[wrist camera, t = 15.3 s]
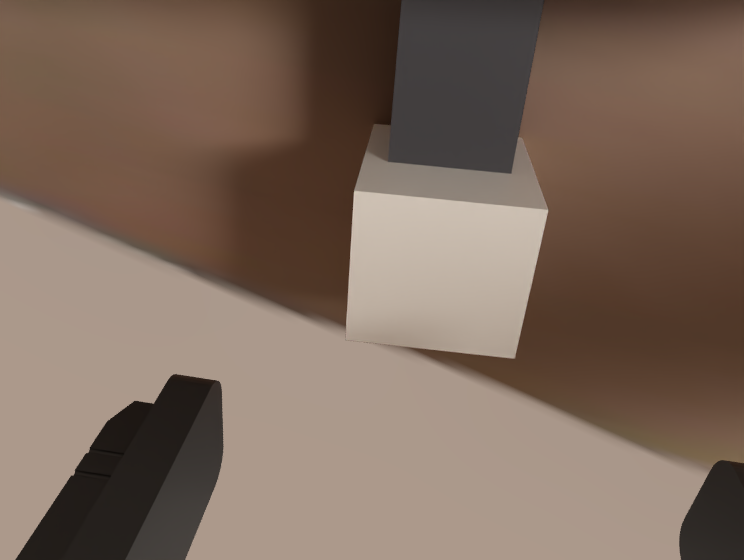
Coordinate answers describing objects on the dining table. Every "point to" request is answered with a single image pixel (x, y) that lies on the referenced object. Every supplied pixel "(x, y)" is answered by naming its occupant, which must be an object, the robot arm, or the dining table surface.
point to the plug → (450, 186)
